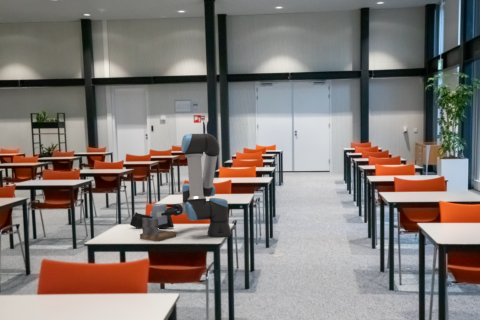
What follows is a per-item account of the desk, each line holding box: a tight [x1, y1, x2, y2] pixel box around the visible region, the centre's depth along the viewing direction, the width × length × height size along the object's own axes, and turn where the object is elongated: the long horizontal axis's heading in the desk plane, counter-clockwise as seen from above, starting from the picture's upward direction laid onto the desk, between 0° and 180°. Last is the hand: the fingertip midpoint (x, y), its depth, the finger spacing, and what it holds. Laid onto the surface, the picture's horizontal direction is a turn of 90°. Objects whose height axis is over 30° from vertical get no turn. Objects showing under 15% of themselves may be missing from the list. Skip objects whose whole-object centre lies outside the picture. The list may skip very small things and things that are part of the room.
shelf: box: [139, 218, 178, 242], centre depth 327 cm, size 16×16×13 cm
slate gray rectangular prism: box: [151, 203, 168, 225], centre depth 329 cm, size 5×8×12 cm, turn 145°
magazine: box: [129, 212, 175, 229], centre depth 358 cm, size 17×3×30 cm
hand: (153, 214), depth 324 cm, fingers closed on slate gray rectangular prism, 5 cm apart
